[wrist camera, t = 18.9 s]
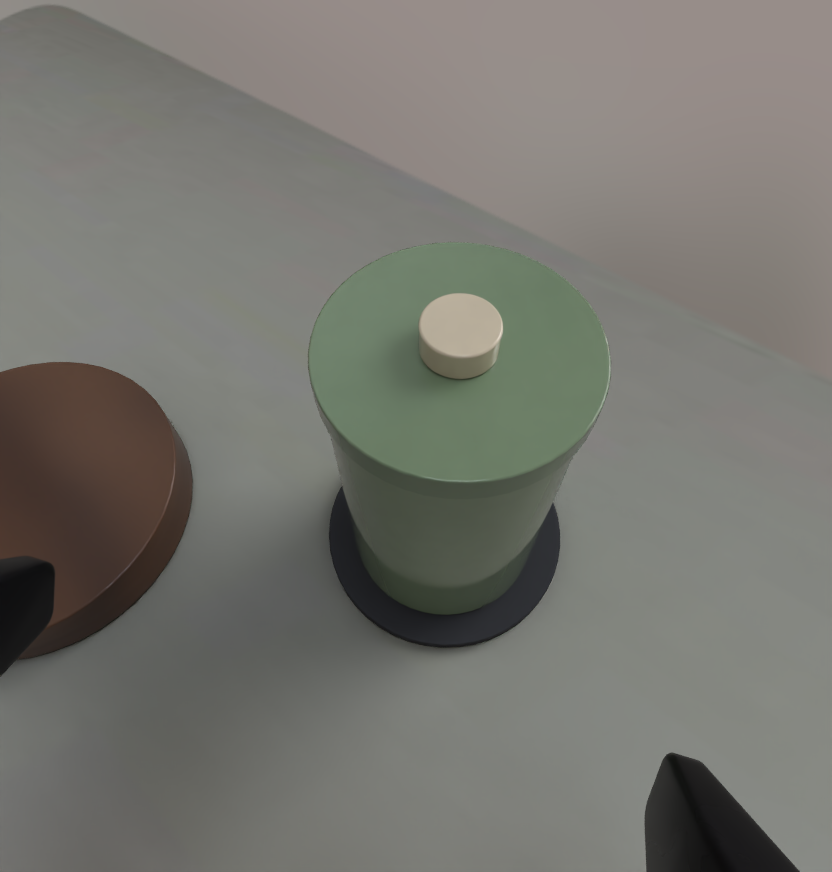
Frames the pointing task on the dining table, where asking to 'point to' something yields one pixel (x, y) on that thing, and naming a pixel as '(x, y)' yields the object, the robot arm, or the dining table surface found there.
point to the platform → (88, 490)
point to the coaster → (437, 626)
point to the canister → (454, 413)
